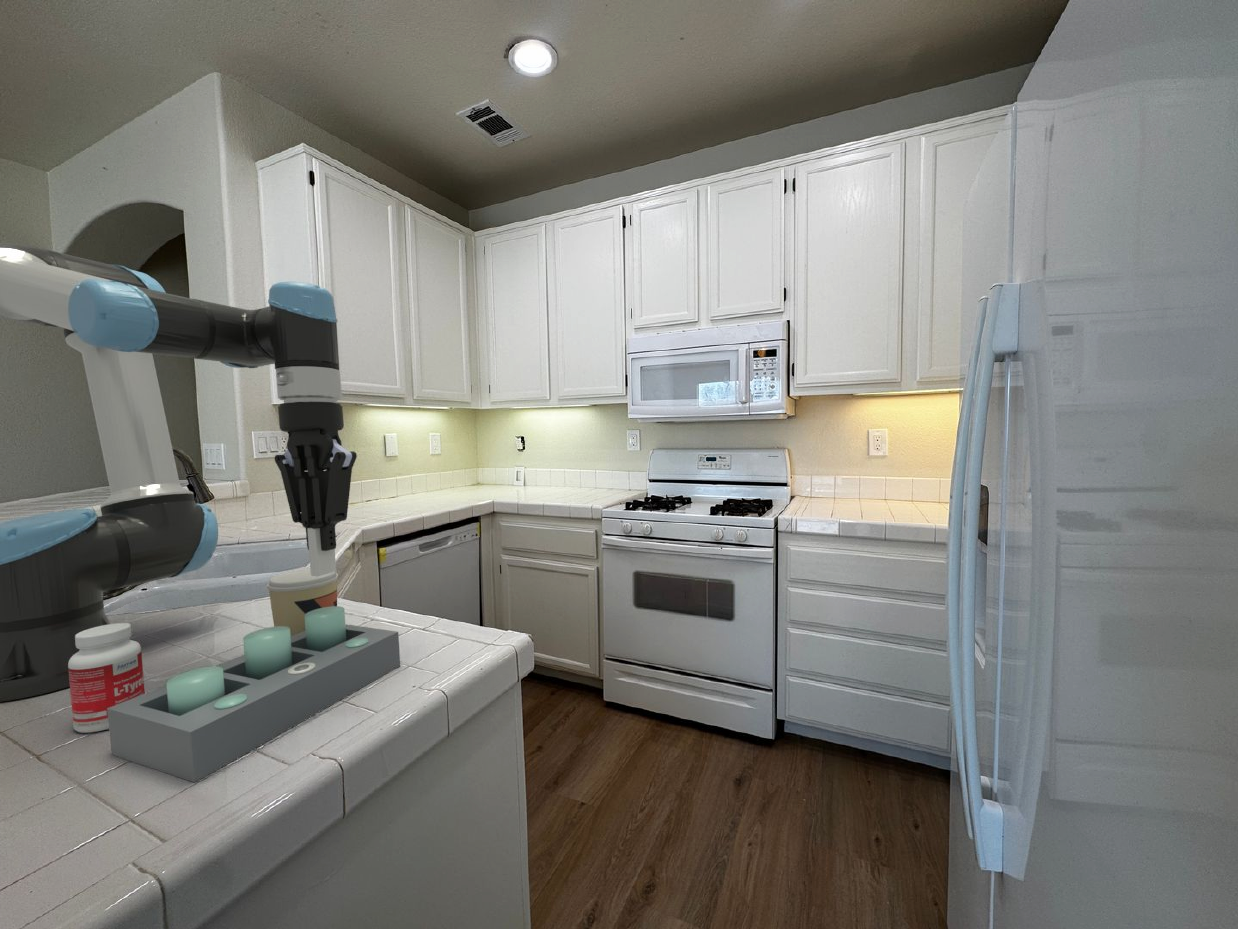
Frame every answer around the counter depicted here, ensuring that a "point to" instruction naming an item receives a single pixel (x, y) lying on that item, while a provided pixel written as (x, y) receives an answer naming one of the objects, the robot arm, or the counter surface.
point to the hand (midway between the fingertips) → (323, 573)
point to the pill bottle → (103, 674)
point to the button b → (267, 651)
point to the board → (248, 705)
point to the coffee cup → (300, 596)
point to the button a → (194, 689)
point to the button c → (325, 628)
